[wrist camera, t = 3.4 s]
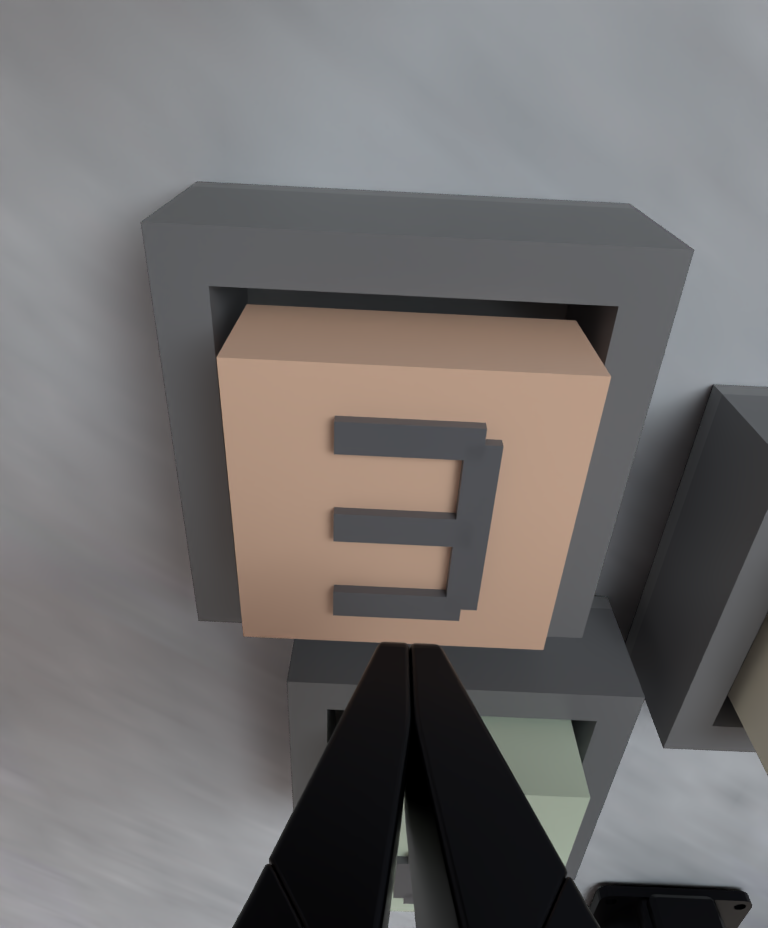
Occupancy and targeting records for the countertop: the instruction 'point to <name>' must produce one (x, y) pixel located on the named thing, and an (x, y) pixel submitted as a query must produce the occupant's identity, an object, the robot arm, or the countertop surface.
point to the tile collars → (628, 398)
